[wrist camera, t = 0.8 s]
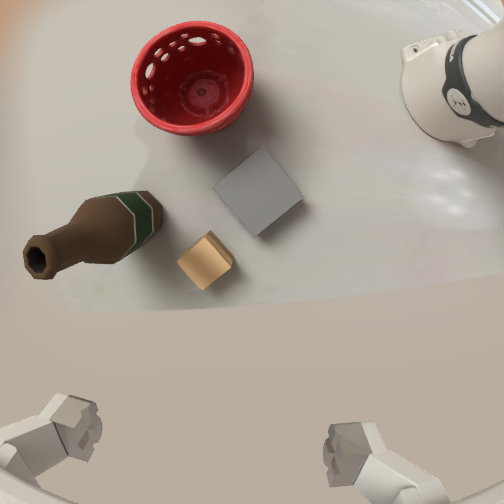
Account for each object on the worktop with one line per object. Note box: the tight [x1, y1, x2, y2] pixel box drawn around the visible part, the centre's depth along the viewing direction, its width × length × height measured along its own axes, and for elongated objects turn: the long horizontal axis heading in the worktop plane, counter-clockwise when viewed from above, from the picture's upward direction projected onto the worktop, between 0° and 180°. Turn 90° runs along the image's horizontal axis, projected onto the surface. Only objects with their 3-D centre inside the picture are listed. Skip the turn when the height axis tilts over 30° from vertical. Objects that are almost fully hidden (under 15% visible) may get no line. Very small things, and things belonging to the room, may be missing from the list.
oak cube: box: [177, 230, 234, 291], centre depth 42 cm, size 5×5×5 cm
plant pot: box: [131, 21, 254, 136], centre depth 33 cm, size 13×13×12 cm
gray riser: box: [212, 146, 304, 237], centre depth 40 cm, size 8×8×4 cm
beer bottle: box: [23, 191, 162, 280], centre depth 31 cm, size 8×8×24 cm
